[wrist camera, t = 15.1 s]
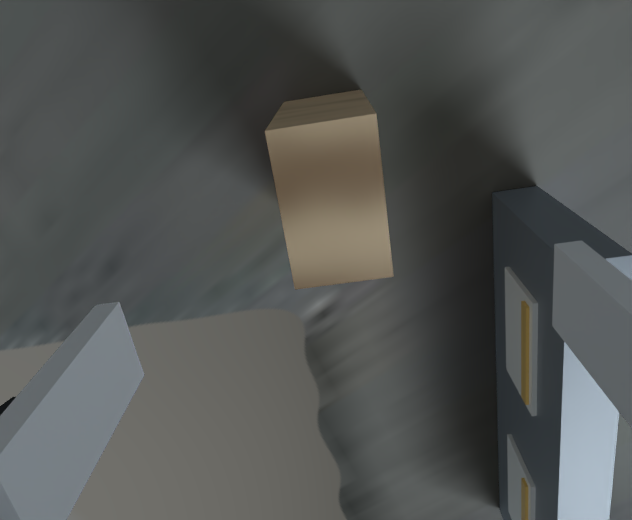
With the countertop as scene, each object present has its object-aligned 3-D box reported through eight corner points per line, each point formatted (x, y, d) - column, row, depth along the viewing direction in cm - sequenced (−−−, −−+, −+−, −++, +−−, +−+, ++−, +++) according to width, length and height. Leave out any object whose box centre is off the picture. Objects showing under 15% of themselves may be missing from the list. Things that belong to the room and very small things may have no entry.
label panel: (533, 506, 47) (597, 651, 36) (494, 509, 47) (545, 654, 36) (537, 186, 35) (633, 255, 24) (484, 193, 35) (556, 265, 24)
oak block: (375, 208, 36) (393, 276, 26) (304, 218, 36) (294, 289, 26) (361, 89, 33) (376, 113, 23) (283, 101, 33) (264, 130, 23)
